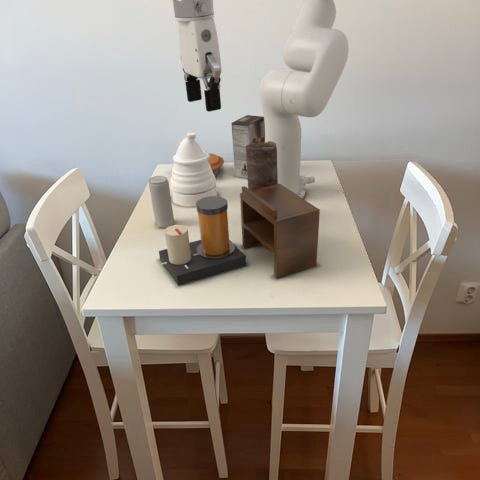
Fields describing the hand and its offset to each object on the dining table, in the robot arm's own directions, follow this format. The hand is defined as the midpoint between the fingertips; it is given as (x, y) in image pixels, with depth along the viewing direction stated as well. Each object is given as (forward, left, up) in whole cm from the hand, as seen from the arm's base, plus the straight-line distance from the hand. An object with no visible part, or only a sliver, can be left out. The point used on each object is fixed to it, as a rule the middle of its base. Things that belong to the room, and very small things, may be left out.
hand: (204, 105), depth 99 cm
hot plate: (+9, +14, -29) cm, 33 cm away
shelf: (-7, +20, -29) cm, 36 cm away
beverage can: (+10, -9, -29) cm, 32 cm away
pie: (-11, -37, -29) cm, 49 cm away
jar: (+6, +14, -26) cm, 30 cm away
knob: (+14, +14, -27) cm, 33 cm away
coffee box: (-25, -29, -29) cm, 48 cm away
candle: (-12, +4, -29) cm, 32 cm away
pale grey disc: (+6, +14, -27) cm, 30 cm away
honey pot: (-3, -21, -29) cm, 36 cm away
